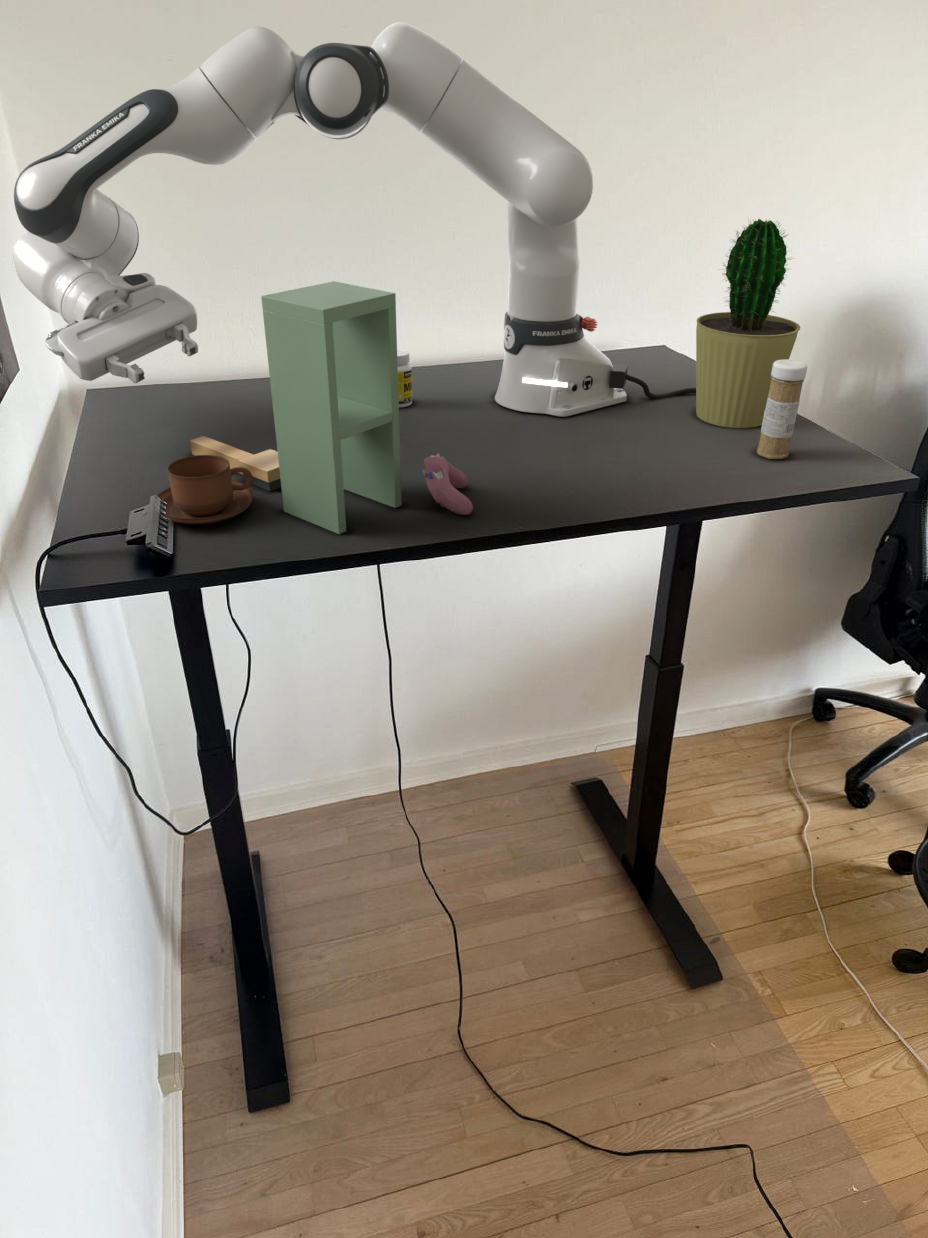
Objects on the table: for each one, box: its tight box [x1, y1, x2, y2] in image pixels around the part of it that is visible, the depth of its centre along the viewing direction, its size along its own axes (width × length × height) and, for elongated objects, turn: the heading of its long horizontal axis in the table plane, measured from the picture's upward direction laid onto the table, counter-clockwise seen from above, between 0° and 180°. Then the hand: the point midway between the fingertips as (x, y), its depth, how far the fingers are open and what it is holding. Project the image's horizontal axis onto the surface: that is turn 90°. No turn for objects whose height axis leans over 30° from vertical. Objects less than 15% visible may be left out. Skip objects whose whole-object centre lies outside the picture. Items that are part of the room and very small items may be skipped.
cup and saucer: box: [156, 455, 254, 526], centre depth 110 cm, size 12×12×6 cm
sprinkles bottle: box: [756, 359, 808, 461], centre depth 126 cm, size 5×5×13 cm
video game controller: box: [422, 452, 474, 516], centre depth 113 cm, size 10×5×7 cm, turn 5°
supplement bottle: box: [397, 349, 413, 408], centre depth 146 cm, size 5×5×8 cm
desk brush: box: [189, 435, 282, 493], centre depth 123 cm, size 19×6×3 cm, turn 50°
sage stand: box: [261, 281, 403, 535], centre depth 106 cm, size 10×11×26 cm
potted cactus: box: [695, 218, 801, 429], centre depth 136 cm, size 15×15×30 cm
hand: (167, 363), depth 124 cm, fingers open, 8 cm apart
